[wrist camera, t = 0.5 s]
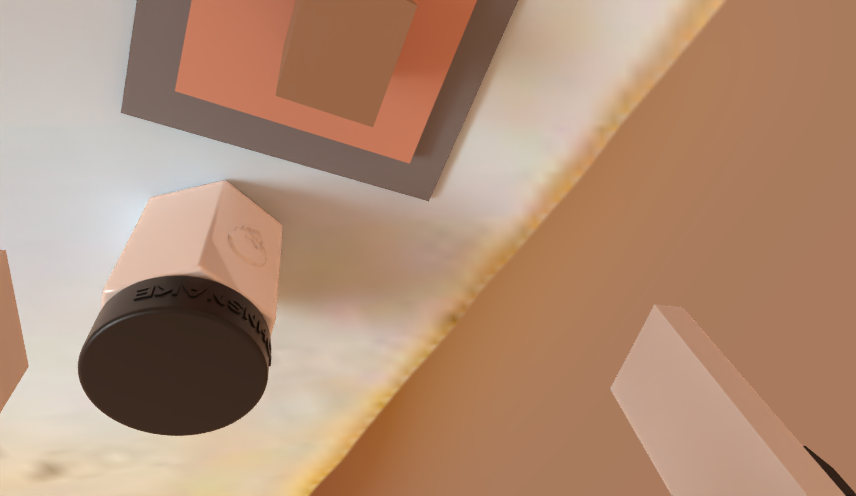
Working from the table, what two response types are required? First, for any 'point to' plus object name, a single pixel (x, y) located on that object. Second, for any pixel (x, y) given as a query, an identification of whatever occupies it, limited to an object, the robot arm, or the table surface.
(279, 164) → the table surface
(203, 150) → the table surface
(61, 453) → the table surface
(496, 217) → the table surface
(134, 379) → the jar
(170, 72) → the mat
